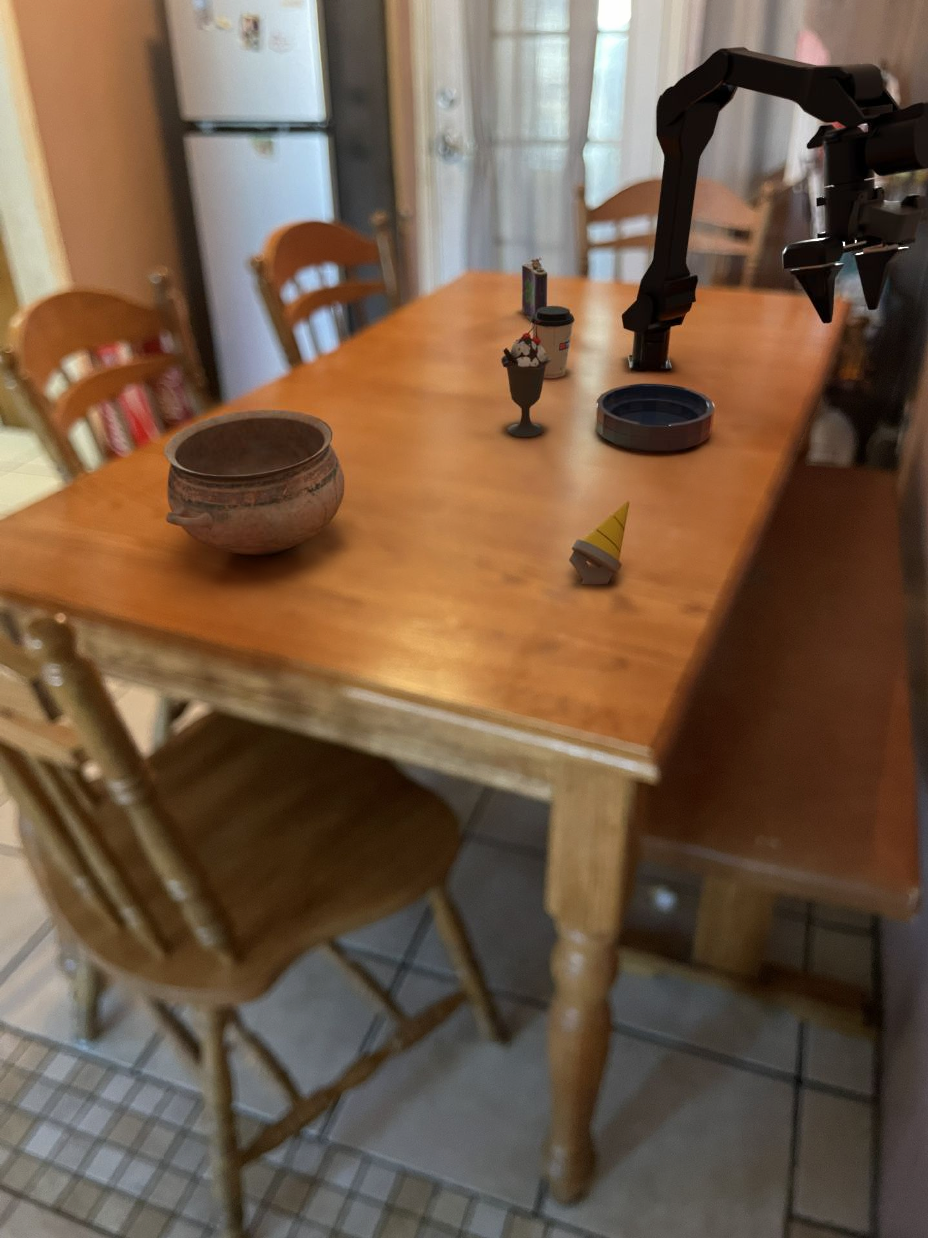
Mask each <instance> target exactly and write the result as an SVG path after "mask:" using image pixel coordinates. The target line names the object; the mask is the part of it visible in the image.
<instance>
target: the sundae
mask: <svg viewBox="0 0 928 1238" xmlns="http://www.w3.org/2000/svg"><path fill="white" fill-rule="evenodd" d="M536 322H537V325H538V323H539V322H540V320H536V321H535V324H536ZM535 324H534V326H535ZM534 326H533V328H534ZM533 328H532V327H531V329H530V330H529V331H528V332H524V333H522V335H521V337H520V338H519V339H516V340H515V341H514V342H513V344H512V345H511V347H510V350H509V349H508V347H505V348H504V349H502V351H503V354H504V355H503V356H502V357H501V365H502V367H503V368H506V372H507V378H508V386H509V392H510V397H511V400H512V401H513V403H515V404H516V405H517V406H518V407H519V408H520V409H521V416H520V421H519V422H518V423H513V424H511V425H510V426H509V427H508V428H507V433H508V434H509V435H511V436H514V437H516V438H533V437H537V436H539V435H542V433H543V432H544V428H543V427H542V426H541V425H540V424H537V423H533V422H532V420H531V416H530V413H531V411H530V410H531V407H532V406H534V405H535V404H536V403H537V402H538V401H539V400H540V399H541V394H542V391H543V384H544V379H545V378H544V373H545V367H546V365H547V364H548V363H549V362H550V361H551V359H550V358H548V357H547V356H546V352H545V350H544V348H543V347H542V346H541V345H539V344H540V342H541V339H540V338H539V337H538V336H537V326H536V337H533V336H532V337H531V334H530V333H532V329H533Z"/></svg>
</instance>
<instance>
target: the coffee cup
mask: <svg viewBox="0 0 928 1238" xmlns="http://www.w3.org/2000/svg"><path fill="white" fill-rule="evenodd" d="M536 320H540V322H539V323H538V325H537V322H536V324H535V321H536ZM575 320H576V319H575V317H574V315H573V313H571V310H570V308H567V307H563V306H560V305H547V306H545V307H541V308H539V309H538V310H537V313H534V314H532V316H531V318H529V321H530V323H531V329H532V328H533V326H534V324H535V326H534V328H533V329H532V330H531V333H532V338H533V337H536V326H537V336H538V337H539V338H540V339H541V342H540V344H539V345H541V346H542V347H543V348H544V350H545V352H546V356H547V357H548V358H550V359H551V361H550V362H549V363H548V364H547V365H546V367H545V373H544V379H556V378H561V377H564V376H565V375H566V369H567V364H568V357H569V350H570V343H571V338H572V330H573V324H574V323H575Z"/></svg>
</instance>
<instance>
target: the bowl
mask: <svg viewBox="0 0 928 1238" xmlns="http://www.w3.org/2000/svg"><path fill="white" fill-rule="evenodd" d="M715 411H716V407H715V404H714V402H713V400H712V399H711V398H709V397H708V396H707V395H705V394H704V393H701V392H700V391H697V390H694V389H693V388H687V387H683V386H679V385H675V384H667V383H666V384H665V383H636V384H635V383H633V384H628V385H626V384H625V385H622V386H618V387H614V388H611V389H609V390H607V391H605V392H603V393H601V394H600V395H599V397H598V398H597V399H596V406H595V420H594V421H595V431H596V432H597V433H598V434H599V435H600V436H601V437H602V438H603V439H605V440H607V441H609V442H610V443H612V444H613V445H615V446H618V447H620V448H623V449H627V450H631V451H635V452H642V453H651V454H652V453H653V454H657V453H659V454H660V453H661V454H662V453H664V454H665V453H673V452H680V451H685V450H688V449H690V448H692V447H695V446H698V445H700V444H701V443H703V442H705V441H706V440H707V439H709V438H710V436H711V434H712V432H713V426H714V417H715Z"/></svg>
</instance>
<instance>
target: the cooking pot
mask: <svg viewBox="0 0 928 1238" xmlns="http://www.w3.org/2000/svg"><path fill="white" fill-rule="evenodd" d="M332 440H333V430H332V428H331V426H330V425H329V424H328V423H327V422H325V420H322V419H321V418H319V417H317V416H314V415H312V414H308V413H304V412H300V411H294V410H286V409H285V410H284V409H254V410H252V409H251V410H244V411H243V410H241V411H236V412H235V411H234V412H230V413H225V414H220V415H217V416H213V417H210V418H207V419H203V420H201V421H198V422H195V423H192V424H191V425H187V426H186V427H185V428H183V429H180V430H179V431H177V432H176V433H174V435H172V436H171V437H170V439H169V440H168V441H167V443H166V445H165V447H164V456H165V458H166V460H167V461H168V462H169V464H170V465H169V469H168V475H167V476H168V477H167V492H166V493H167V494H166V495H167V503H168V506H169V509H170V512H168V513H167V514H166V516H165V521H166V522H167V523H169V524H171V525H174V526H178V527H181V528H182V529H183V530H184V531H185V532H186V533H187V534H188V535H189V536H190V537H191V538H193V539H195V540H196V541H198V542H200V543H201V544H203V545H205V546H207V547H210V548H212V549H216V550H219V551H223V552H228V553H233V554H240V555H246V556H252V557H267V556H273V555H277V554H280V553H283V552H285V551H287V550H289V549H291V548H293V547H296V546H298V545H300V544H302V543H304V542H306V541H308V540H310V539H311V538H313V537H314V536H316V535H317V534H319V533H320V532H321V531H322V530H324V529H325V528H326V527H327V526H328V525H329V523H330V522H332V520H333V519H334V518H335V516H336V514H337V513H338V511H339V508H340V506H341V505H342V501H343V498H344V495H345V475H344V471H343V468H342V466H341V462H340V461H339V458H338V456H337V454H336V451H335V449H334V448H333V445H332V444H331V442H332Z"/></svg>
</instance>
